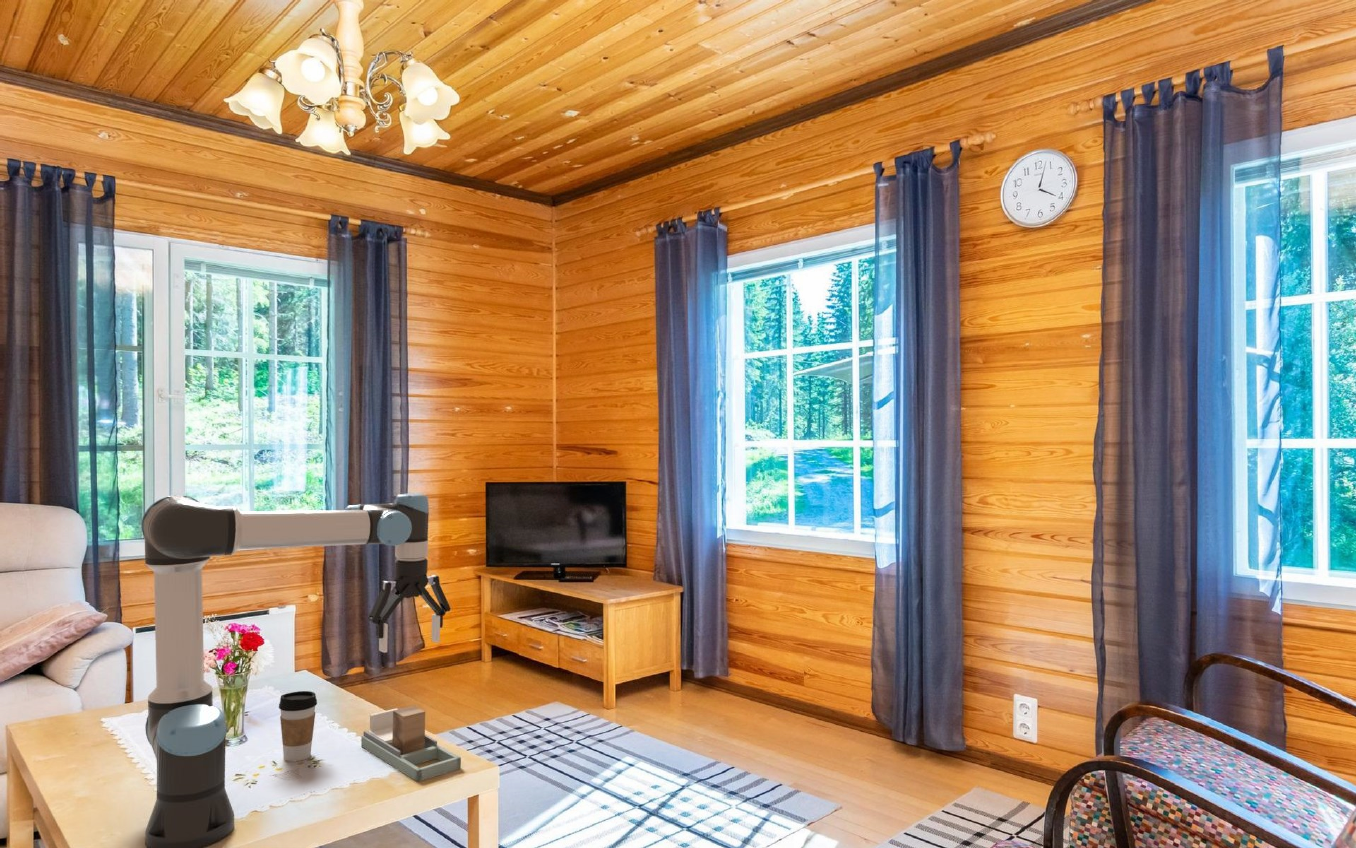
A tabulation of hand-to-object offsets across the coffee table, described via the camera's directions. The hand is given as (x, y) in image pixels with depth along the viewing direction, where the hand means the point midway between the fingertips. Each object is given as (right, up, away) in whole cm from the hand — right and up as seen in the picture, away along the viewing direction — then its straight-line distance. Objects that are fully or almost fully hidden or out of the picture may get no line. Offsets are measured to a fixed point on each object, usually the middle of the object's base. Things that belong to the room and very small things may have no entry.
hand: (409, 646), depth 208 cm
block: (0, -27, 0) cm, 27 cm away
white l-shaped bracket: (-7, -24, +6) cm, 25 cm away
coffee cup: (-27, -26, -1) cm, 37 cm away
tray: (0, -27, 0) cm, 27 cm away
